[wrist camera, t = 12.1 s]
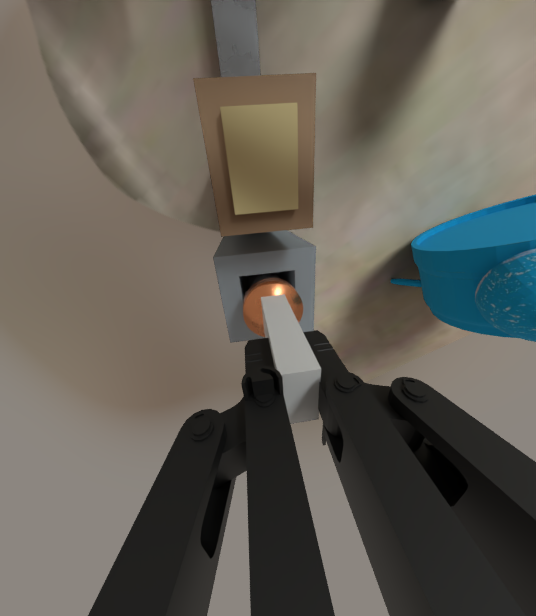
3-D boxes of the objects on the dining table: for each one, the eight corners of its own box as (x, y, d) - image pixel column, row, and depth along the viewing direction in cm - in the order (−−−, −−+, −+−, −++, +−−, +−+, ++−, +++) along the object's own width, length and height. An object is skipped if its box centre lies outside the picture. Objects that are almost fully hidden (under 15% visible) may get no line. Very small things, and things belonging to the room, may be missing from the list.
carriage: (219, 149, 19) (191, 73, 8) (273, 145, 19) (319, 67, 8) (230, 220, 21) (220, 237, 11) (277, 215, 22) (315, 228, 11)
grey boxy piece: (220, 236, 22) (207, 258, 14) (286, 229, 23) (315, 246, 14) (230, 295, 26) (225, 343, 17) (288, 288, 26) (313, 331, 17)
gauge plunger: (239, 259, 19) (238, 287, 12) (282, 254, 19) (303, 280, 13) (244, 298, 21) (247, 341, 14) (283, 294, 21) (303, 333, 15)
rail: (197, -102, 13) (191, -150, 11) (244, -102, 13) (245, -148, 12) (241, 229, 22) (241, 231, 21) (268, 226, 23) (271, 228, 21)
